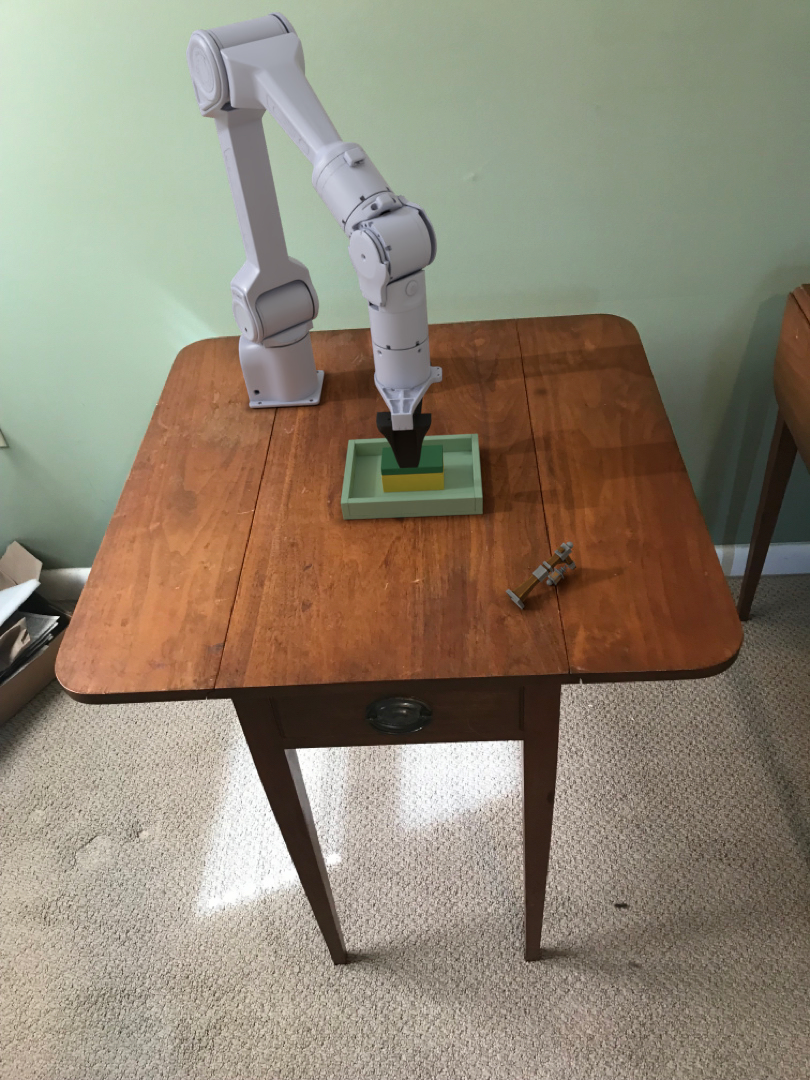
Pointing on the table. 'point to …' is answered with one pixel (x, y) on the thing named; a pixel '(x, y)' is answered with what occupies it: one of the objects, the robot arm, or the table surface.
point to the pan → (371, 502)
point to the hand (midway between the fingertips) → (409, 444)
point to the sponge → (413, 471)
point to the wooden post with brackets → (544, 573)
